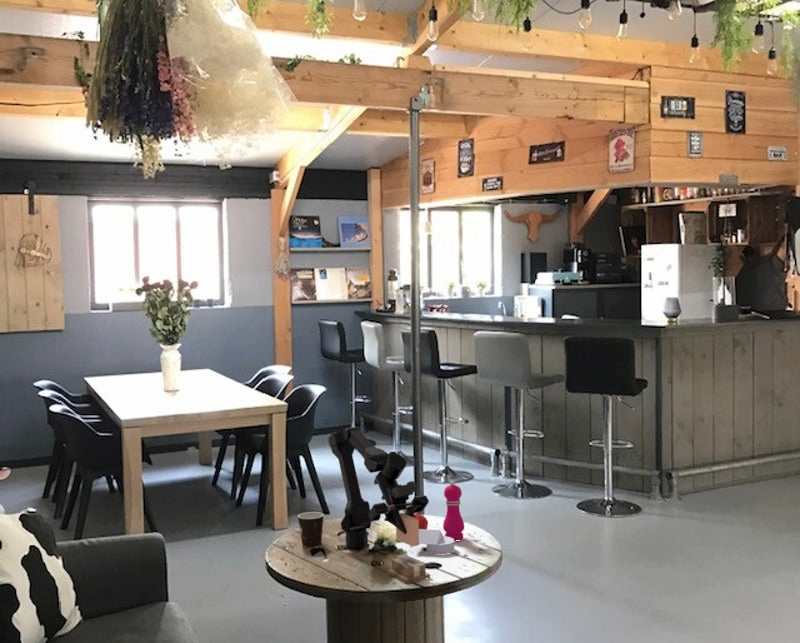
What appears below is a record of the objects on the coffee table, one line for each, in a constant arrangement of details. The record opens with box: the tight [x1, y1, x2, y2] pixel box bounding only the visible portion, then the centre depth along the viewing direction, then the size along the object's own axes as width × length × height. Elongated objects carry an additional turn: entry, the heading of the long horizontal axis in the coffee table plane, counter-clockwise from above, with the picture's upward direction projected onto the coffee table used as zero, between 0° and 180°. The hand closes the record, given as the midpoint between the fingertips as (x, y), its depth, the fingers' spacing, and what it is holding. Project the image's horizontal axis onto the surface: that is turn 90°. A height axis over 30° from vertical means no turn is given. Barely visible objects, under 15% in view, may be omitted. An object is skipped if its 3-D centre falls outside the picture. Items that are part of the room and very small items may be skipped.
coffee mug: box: [297, 511, 324, 548], centre depth 276 cm, size 12×9×10 cm
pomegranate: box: [414, 513, 429, 530], centre depth 285 cm, size 10×10×9 cm
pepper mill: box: [442, 480, 465, 541], centre depth 278 cm, size 7×7×20 cm
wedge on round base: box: [419, 528, 455, 555], centre depth 268 cm, size 9×7×13 cm
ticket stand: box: [387, 553, 431, 585], centre depth 244 cm, size 11×8×5 cm
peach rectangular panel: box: [395, 512, 420, 547], centre depth 244 cm, size 9×2×8 cm, turn 31°
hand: (409, 532), depth 243 cm, fingers closed on peach rectangular panel, 2 cm apart
